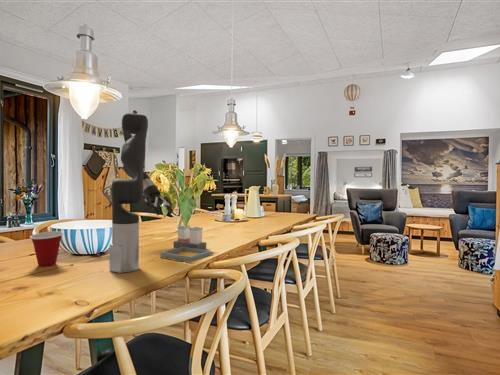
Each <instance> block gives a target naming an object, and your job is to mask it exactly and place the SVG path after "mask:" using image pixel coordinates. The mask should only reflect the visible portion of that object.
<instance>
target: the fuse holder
mask: <svg viewBox="0 0 500 375" xmlns="http://www.w3.org/2000/svg"><path fill="white" fill-rule="evenodd" d="M180 247H188V248H195V249H202V250H207V242H205V241H202V243H200V244H192V243H190V241H189V242H178V240H174V241H173V249H176V248H180Z"/></svg>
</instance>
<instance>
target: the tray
mask: <svg viewBox="0 0 500 375" xmlns="http://www.w3.org/2000/svg"><path fill="white" fill-rule="evenodd" d="M181 252H189V253H196V254H195V255H191V256H188V255H183V254H182V255H181V254H178V253H181ZM176 253H177V254H176ZM211 255H212V250H209V249H208V250H207V249H204V250H202V249H195V248H188V247H180V248H173V249H169V250H165V251H161V252H160V259H163V260H169V261H173V260H174V261H173V262H179V263H184V262H185V263H186V264H192V261H195V260H199V259H201V258H205V257H207V256H211Z"/></svg>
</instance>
